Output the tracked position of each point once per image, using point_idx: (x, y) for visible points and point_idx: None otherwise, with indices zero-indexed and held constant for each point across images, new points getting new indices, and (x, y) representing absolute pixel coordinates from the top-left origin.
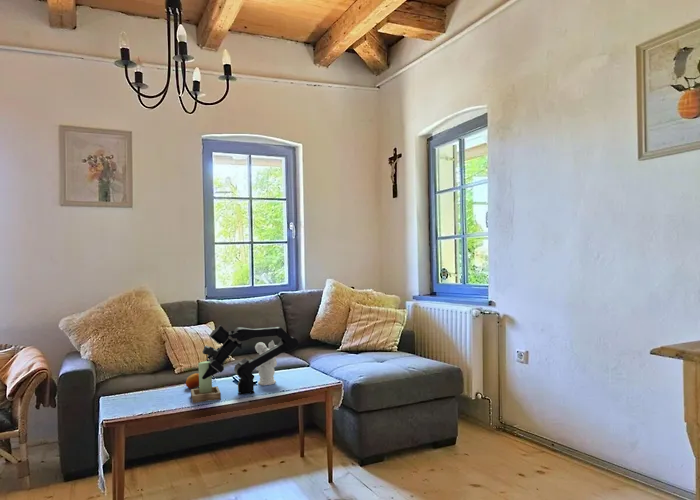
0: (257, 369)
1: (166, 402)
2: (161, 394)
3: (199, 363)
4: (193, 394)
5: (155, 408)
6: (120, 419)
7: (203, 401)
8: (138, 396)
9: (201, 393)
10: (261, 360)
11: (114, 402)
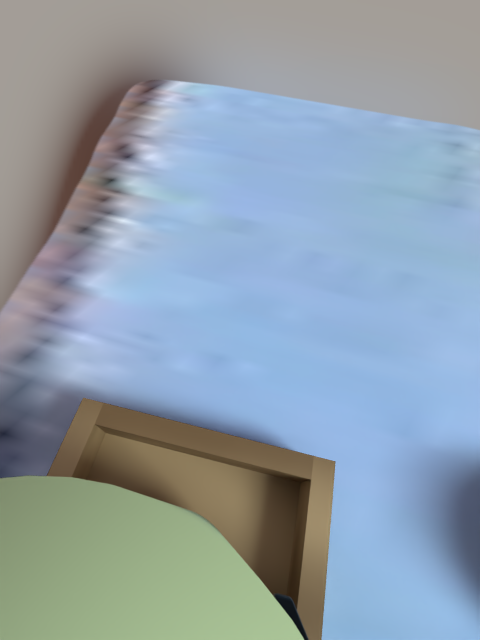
0: None
1: (252, 283)
2: (461, 310)
3: (60, 536)
4: (134, 422)
5: (173, 215)
6: (123, 99)
7: None
8: (464, 216)
9: (273, 564)
10: None
11: (399, 136)
